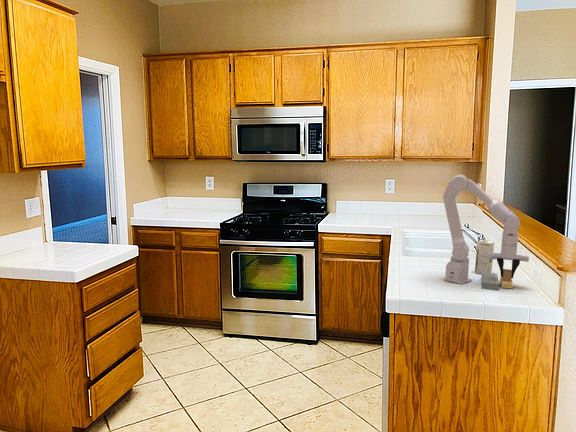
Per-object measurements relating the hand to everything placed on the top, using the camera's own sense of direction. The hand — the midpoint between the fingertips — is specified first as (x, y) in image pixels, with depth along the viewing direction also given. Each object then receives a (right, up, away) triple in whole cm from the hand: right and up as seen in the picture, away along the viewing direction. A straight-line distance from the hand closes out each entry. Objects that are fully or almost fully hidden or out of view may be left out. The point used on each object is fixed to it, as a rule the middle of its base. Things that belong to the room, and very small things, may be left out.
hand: (506, 277), depth 189 cm
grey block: (-6, -3, +3) cm, 7 cm away
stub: (0, -3, 0) cm, 3 cm away
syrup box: (-1, -1, +21) cm, 21 cm away
